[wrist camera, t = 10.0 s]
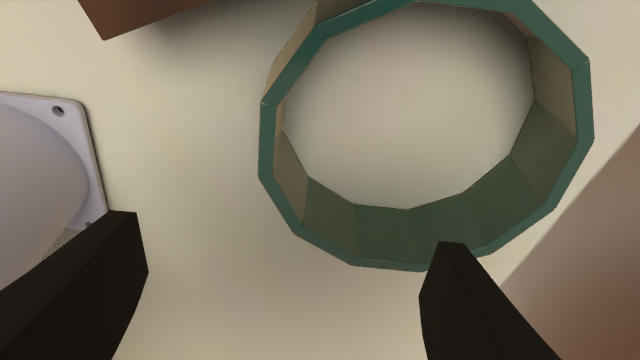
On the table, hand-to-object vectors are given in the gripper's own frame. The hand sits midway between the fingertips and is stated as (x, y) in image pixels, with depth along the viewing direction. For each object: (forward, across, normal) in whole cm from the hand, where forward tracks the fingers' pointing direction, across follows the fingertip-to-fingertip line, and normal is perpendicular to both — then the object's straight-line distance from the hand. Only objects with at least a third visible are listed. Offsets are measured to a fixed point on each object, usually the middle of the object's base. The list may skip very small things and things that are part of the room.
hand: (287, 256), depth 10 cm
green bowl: (+10, -4, +1) cm, 11 cm away
